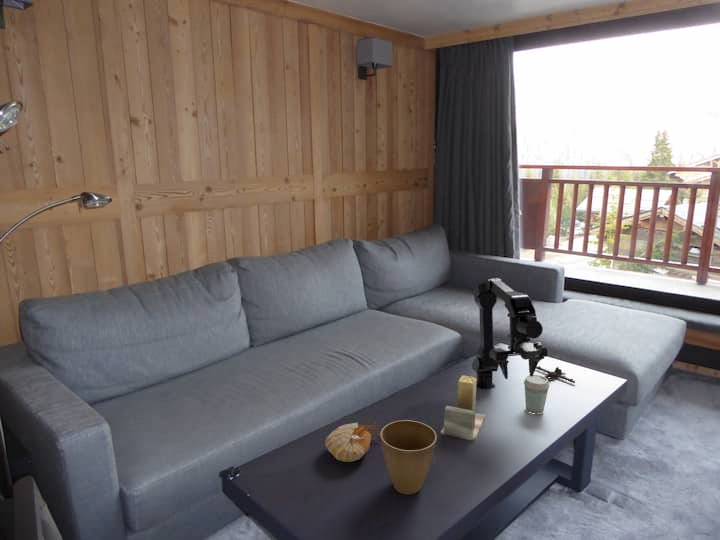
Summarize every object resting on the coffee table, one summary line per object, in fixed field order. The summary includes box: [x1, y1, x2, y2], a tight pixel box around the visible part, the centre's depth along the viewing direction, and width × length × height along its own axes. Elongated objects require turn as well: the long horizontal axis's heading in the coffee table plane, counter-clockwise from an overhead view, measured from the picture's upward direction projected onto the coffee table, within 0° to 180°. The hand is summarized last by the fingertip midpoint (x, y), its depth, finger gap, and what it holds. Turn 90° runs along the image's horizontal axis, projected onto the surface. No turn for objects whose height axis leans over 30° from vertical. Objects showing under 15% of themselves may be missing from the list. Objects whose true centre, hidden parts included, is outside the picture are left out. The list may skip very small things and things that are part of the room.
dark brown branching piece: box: [535, 365, 576, 384], centre depth 208 cm, size 18×4×14 cm
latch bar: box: [456, 374, 477, 413], centre depth 175 cm, size 6×5×14 cm
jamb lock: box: [440, 405, 486, 442], centre depth 173 cm, size 16×11×9 cm, turn 155°
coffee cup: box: [523, 374, 550, 414], centre depth 182 cm, size 8×8×12 cm
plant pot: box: [380, 419, 437, 495], centre depth 141 cm, size 15×15×16 cm
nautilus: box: [324, 420, 384, 463], centre depth 159 cm, size 8×22×15 cm
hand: (518, 377), depth 175 cm, fingers open, 9 cm apart
